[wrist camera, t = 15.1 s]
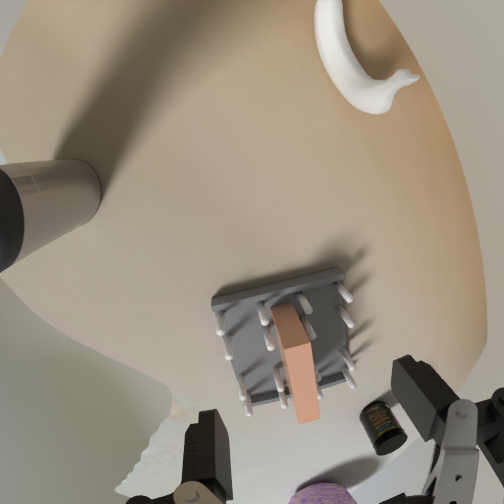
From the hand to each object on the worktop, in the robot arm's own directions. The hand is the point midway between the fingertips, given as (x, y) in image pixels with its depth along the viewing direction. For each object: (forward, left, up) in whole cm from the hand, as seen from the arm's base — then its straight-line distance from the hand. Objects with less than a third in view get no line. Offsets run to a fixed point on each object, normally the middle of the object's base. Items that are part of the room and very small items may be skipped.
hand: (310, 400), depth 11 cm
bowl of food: (+2, -74, -28) cm, 79 cm away
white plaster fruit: (+16, +22, -28) cm, 39 cm away
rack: (+2, -17, -28) cm, 33 cm away
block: (+2, -17, -27) cm, 32 cm away
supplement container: (+17, -42, -28) cm, 53 cm away
